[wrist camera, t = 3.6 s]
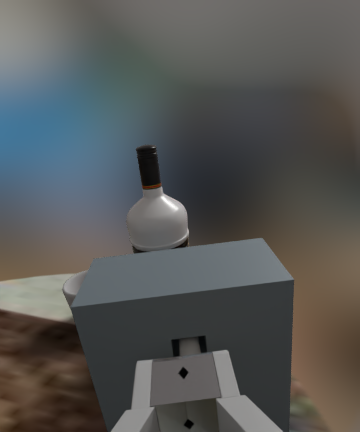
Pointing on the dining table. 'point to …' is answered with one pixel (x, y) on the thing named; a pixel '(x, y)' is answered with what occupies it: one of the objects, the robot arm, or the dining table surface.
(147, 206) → the vodka
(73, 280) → the cup
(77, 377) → the dining table surface
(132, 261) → the console
